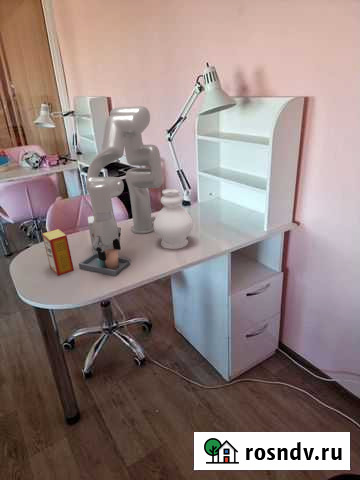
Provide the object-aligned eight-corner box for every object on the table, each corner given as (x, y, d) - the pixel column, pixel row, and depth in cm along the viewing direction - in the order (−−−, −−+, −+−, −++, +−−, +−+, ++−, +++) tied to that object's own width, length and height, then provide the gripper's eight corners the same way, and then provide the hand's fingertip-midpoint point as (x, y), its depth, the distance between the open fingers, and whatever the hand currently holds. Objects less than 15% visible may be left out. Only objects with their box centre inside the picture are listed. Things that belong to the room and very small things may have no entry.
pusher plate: (111, 260, 141) (109, 251, 140) (112, 260, 141) (111, 251, 139) (98, 269, 135) (96, 259, 133) (100, 269, 134) (98, 260, 132)
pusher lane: (96, 257, 146) (95, 252, 145) (130, 264, 139) (129, 259, 138) (79, 268, 138) (78, 263, 137) (115, 276, 130) (114, 271, 129)
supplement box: (93, 254, 150) (87, 223, 144) (92, 246, 158) (87, 216, 152) (113, 250, 152) (108, 219, 146) (111, 243, 160) (107, 213, 154)
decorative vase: (189, 252, 146) (187, 197, 136) (150, 250, 149) (145, 196, 139) (196, 235, 162) (194, 185, 151) (160, 234, 165) (156, 185, 155)
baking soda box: (50, 267, 140) (41, 232, 134) (65, 262, 144) (57, 228, 137) (58, 276, 133) (49, 239, 127) (74, 270, 137) (66, 234, 130)
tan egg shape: (111, 262, 140) (108, 247, 137) (122, 265, 138) (119, 249, 135) (102, 268, 136) (100, 253, 133) (114, 271, 133) (111, 255, 130)
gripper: (109, 206, 136) (115, 244, 143) (80, 221, 122) (88, 263, 129) (124, 208, 133) (130, 246, 140) (97, 224, 119) (104, 266, 126)
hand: (110, 254), depth 135 cm, fingers open, 9 cm apart
